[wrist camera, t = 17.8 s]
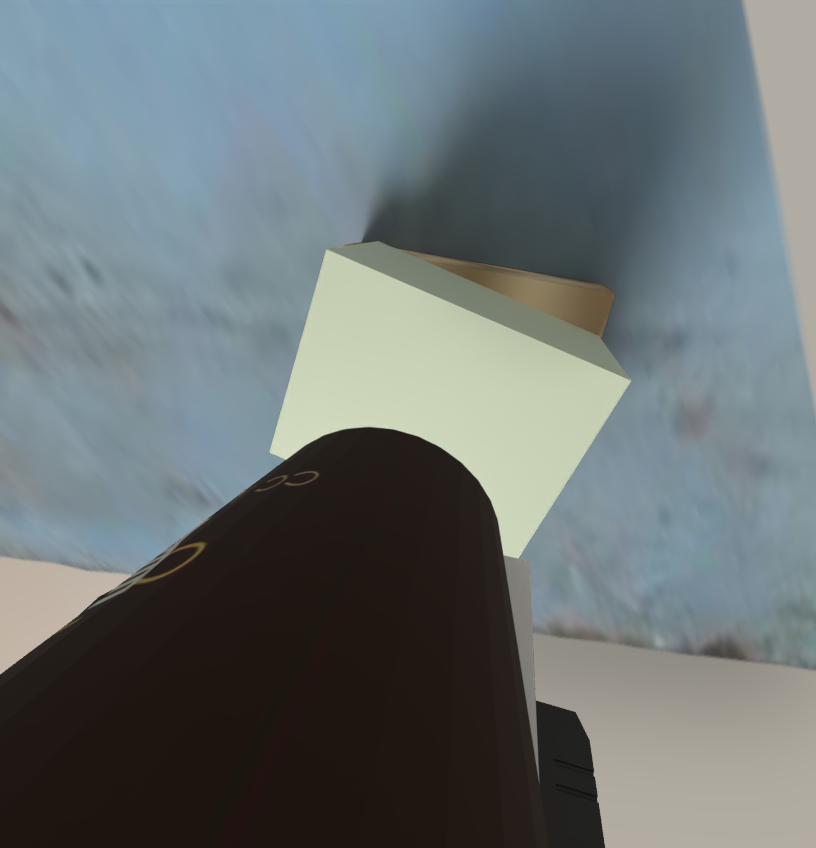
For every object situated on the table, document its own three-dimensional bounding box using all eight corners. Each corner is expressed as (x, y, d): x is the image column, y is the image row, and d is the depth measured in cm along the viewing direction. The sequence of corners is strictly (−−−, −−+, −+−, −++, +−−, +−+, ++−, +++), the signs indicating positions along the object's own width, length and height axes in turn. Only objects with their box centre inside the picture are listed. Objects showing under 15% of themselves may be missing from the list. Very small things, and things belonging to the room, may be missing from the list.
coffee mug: (474, 330, 10) (235, 1071, 1) (587, 626, 13) (763, 1568, 4) (103, 472, 14) (-608, 921, 5) (247, 680, 17) (-62, 1224, 8)
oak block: (344, 414, 35) (324, 436, 32) (361, 242, 30) (340, 245, 27) (548, 459, 33) (552, 488, 30) (602, 284, 28) (615, 294, 25)
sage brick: (327, 397, 30) (269, 452, 23) (378, 240, 26) (326, 249, 19) (515, 480, 30) (515, 562, 23) (598, 335, 26) (631, 380, 19)
